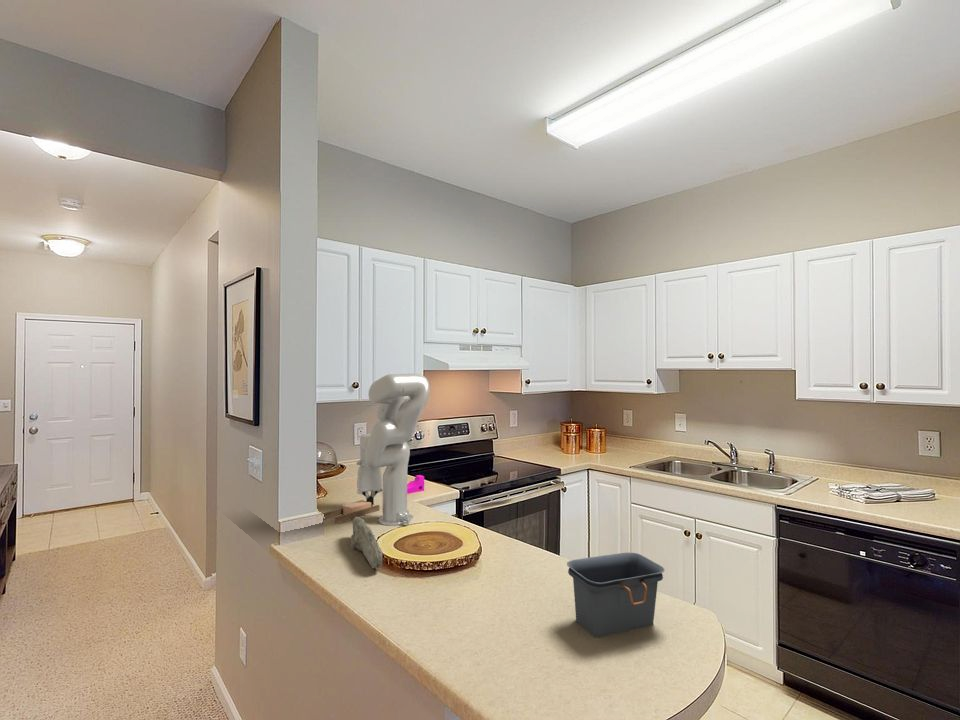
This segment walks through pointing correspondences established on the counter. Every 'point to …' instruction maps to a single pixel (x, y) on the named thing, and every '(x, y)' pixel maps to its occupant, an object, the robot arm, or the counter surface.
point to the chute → (350, 515)
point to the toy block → (416, 484)
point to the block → (355, 506)
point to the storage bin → (614, 592)
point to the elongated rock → (366, 542)
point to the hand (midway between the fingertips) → (370, 506)
